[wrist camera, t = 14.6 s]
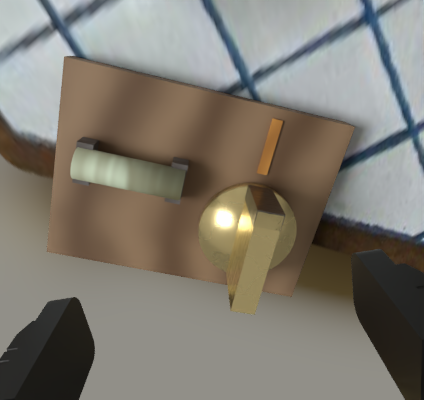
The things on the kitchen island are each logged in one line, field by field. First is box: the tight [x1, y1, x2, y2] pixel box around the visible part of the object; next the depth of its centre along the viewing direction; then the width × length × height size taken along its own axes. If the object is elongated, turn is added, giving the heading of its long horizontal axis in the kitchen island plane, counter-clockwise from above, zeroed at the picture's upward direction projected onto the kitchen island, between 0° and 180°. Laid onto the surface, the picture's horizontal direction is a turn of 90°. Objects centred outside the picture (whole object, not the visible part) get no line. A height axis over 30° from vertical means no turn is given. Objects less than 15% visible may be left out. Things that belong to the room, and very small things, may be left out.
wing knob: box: [199, 183, 297, 314], centre depth 29 cm, size 8×8×6 cm
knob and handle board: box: [47, 56, 355, 297], centre depth 30 cm, size 22×16×5 cm
